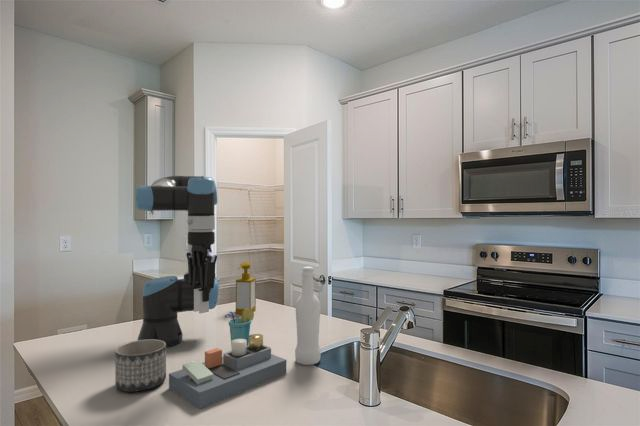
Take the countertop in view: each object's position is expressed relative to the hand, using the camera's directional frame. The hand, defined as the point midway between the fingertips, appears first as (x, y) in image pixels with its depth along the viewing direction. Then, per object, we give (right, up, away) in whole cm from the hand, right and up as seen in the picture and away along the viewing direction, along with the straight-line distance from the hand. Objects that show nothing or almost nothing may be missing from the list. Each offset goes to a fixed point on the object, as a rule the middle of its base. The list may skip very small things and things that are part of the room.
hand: (201, 311), depth 112 cm
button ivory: (+11, -12, -2) cm, 16 cm away
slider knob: (+5, -14, -4) cm, 15 cm away
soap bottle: (-1, -18, +67) cm, 70 cm away
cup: (+7, -19, +17) cm, 26 cm away
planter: (-15, -19, -6) cm, 25 cm away
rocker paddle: (+3, -13, -11) cm, 17 cm away
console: (+9, -18, -4) cm, 21 cm away
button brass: (+16, -12, +3) cm, 20 cm away
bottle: (+31, -19, +10) cm, 37 cm away
